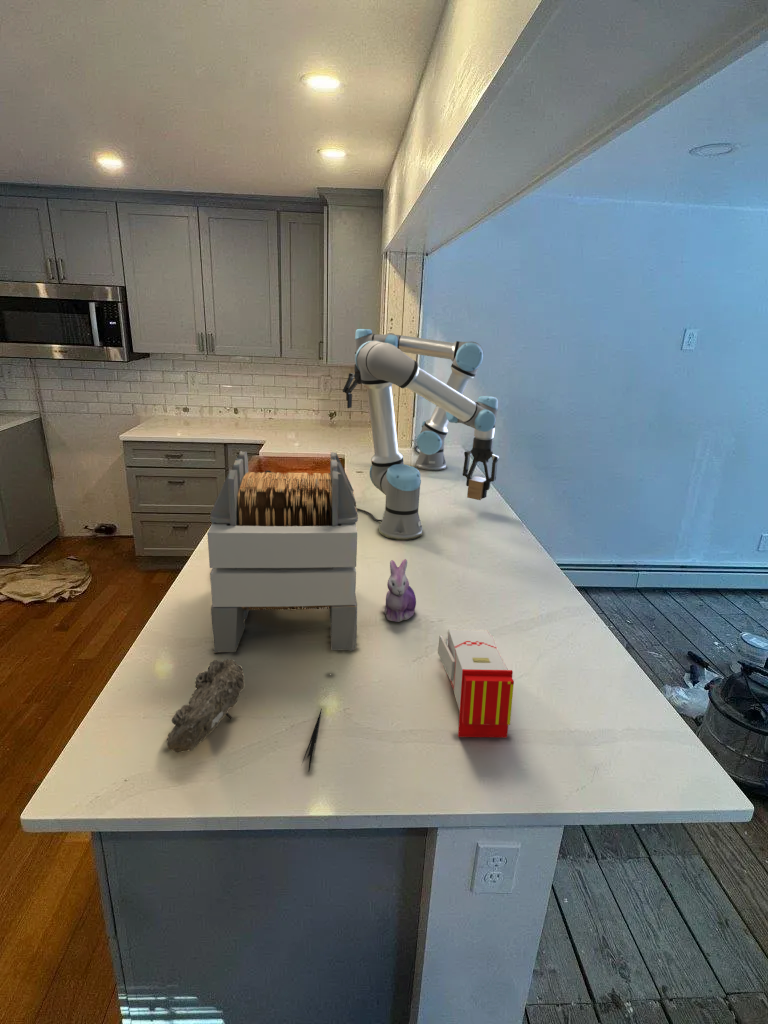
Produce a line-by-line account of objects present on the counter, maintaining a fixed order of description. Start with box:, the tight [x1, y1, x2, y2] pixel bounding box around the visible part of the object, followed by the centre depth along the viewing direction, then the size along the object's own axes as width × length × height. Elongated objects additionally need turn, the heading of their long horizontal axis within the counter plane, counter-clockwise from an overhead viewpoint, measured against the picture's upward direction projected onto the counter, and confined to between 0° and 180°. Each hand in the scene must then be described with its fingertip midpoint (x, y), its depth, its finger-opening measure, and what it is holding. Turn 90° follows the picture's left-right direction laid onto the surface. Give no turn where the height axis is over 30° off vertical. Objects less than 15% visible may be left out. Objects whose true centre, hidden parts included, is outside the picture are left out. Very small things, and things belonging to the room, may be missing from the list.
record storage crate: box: [206, 450, 359, 654], centre depth 137 cm, size 34×33×41 cm
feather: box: [301, 673, 332, 771], centre depth 108 cm, size 2×28×2 cm
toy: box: [437, 628, 515, 738], centre depth 117 cm, size 12×13×30 cm
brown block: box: [466, 475, 486, 501], centre depth 222 cm, size 7×5×7 cm
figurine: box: [384, 558, 417, 623], centre depth 145 cm, size 9×10×15 cm
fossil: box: [166, 658, 245, 754], centre depth 106 cm, size 22×10×15 cm
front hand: (476, 495), depth 223 cm, fingers closed on brown block, 5 cm apart
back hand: (361, 409), depth 271 cm, fingers open, 13 cm apart
